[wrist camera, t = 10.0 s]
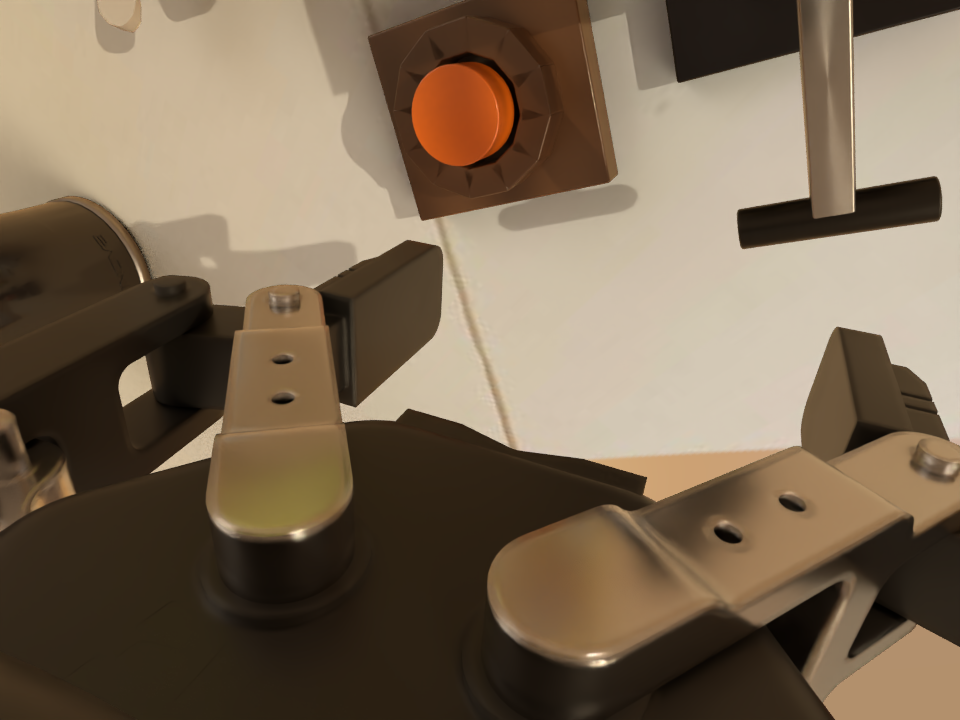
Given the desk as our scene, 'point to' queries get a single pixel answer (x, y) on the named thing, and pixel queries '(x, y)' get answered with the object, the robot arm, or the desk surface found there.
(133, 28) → the bunny figurine
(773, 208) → the lever
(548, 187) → the button block
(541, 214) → the desk surface
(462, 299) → the desk surface
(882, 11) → the lever bracket
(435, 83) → the button
